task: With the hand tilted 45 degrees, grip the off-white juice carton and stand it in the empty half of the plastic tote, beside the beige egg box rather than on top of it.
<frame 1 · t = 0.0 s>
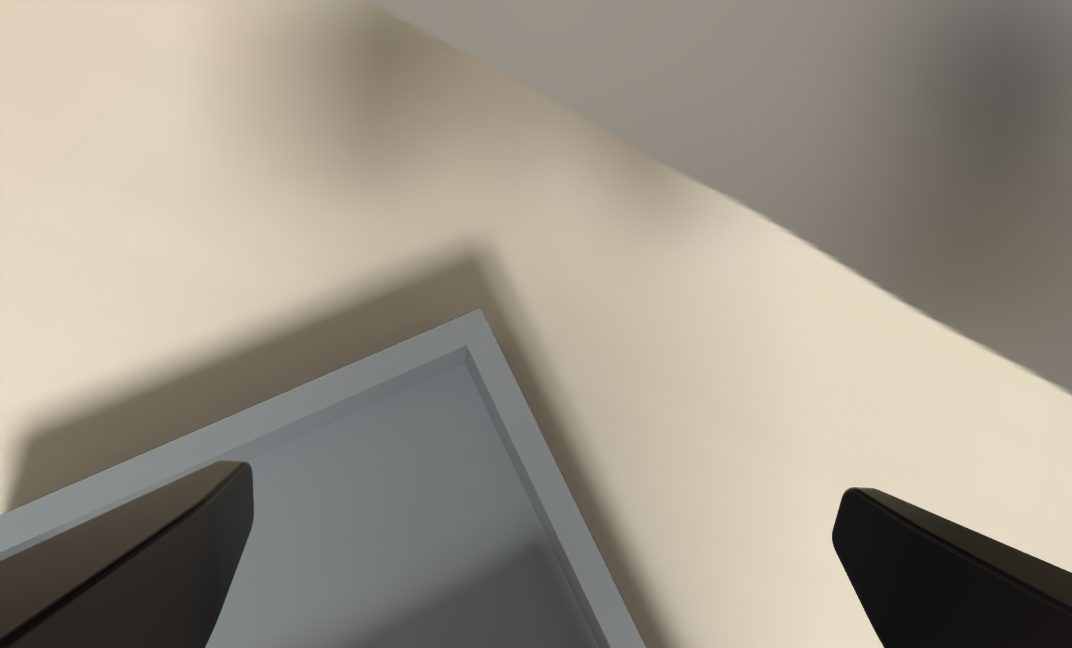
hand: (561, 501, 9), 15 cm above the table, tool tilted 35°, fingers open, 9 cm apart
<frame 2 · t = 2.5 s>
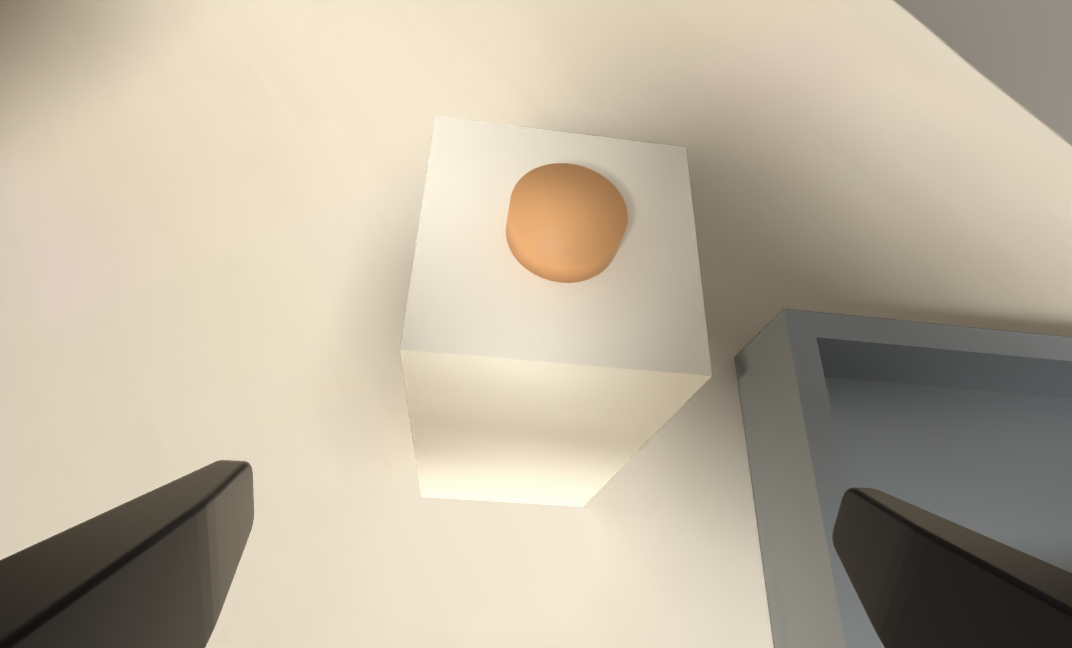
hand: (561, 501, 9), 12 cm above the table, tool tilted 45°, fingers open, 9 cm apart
juice carton: (507, 424, 22), on the table
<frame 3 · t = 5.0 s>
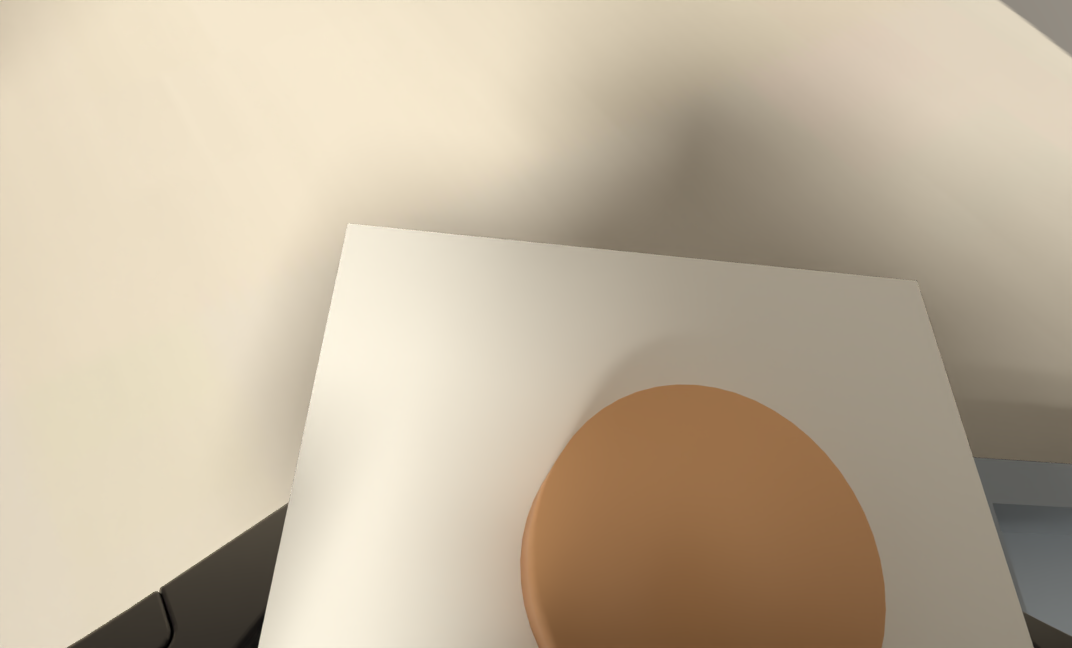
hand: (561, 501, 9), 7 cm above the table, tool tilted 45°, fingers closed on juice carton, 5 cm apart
juice carton: (511, 620, 14), on the table, touching gripper
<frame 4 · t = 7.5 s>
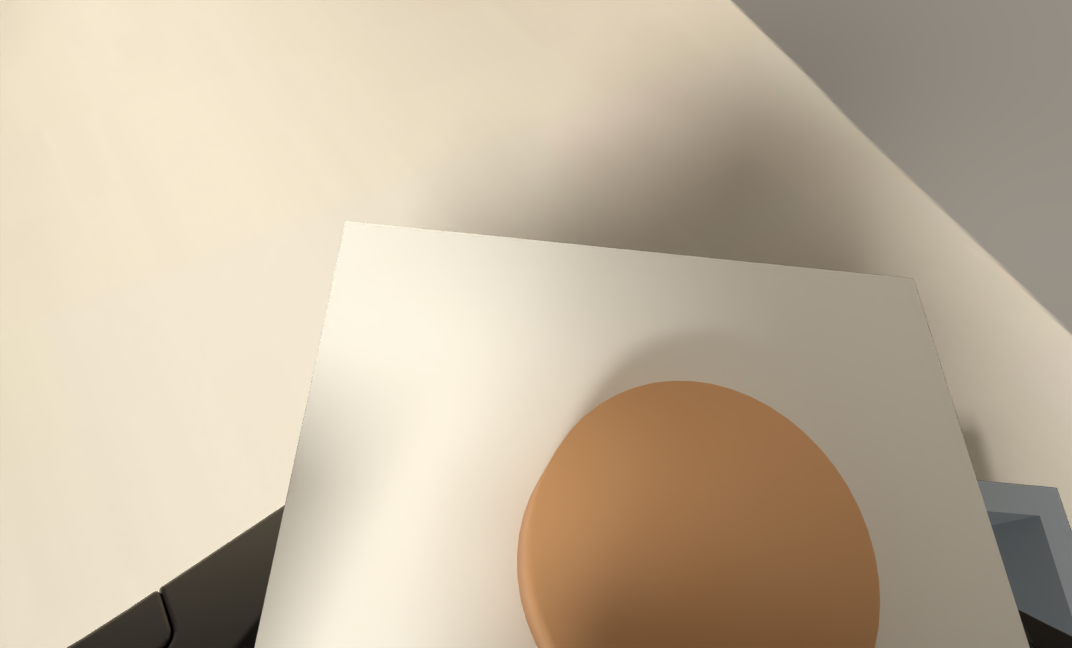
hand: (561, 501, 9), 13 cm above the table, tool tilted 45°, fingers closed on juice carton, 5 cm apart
juice carton: (510, 619, 15), point 6 cm above the table, touching gripper
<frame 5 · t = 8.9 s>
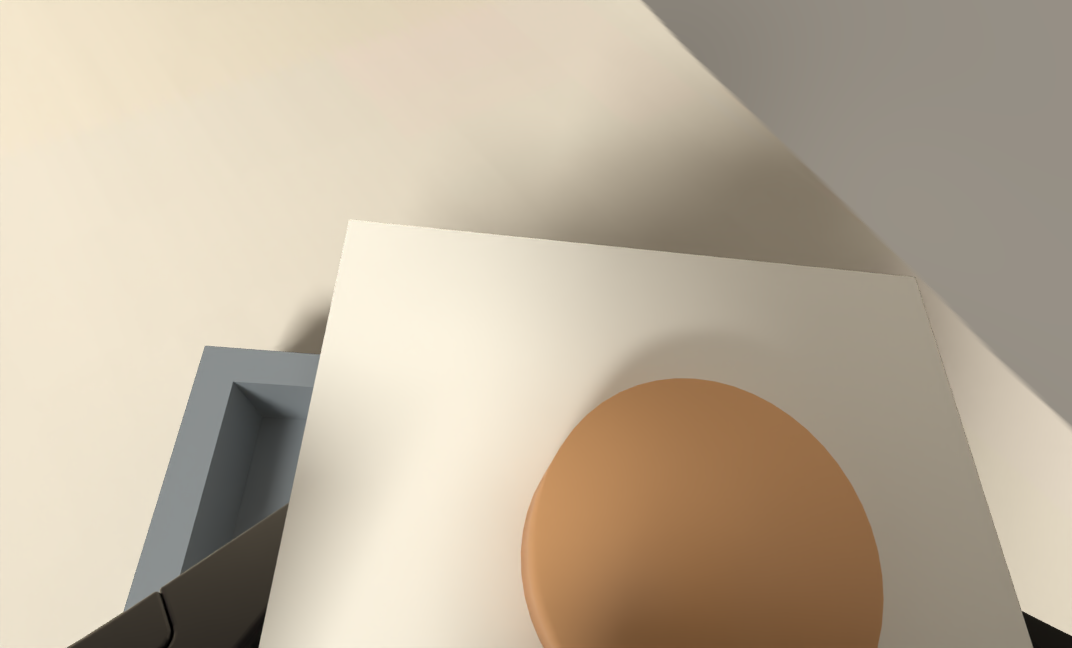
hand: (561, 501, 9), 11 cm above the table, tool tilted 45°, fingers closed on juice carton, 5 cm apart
juice carton: (511, 619, 15), point 4 cm above the table, touching gripper
when the fingers open (9 cm above the table, at t = 10.1 s): juice carton drops 1 cm, resting on tote.
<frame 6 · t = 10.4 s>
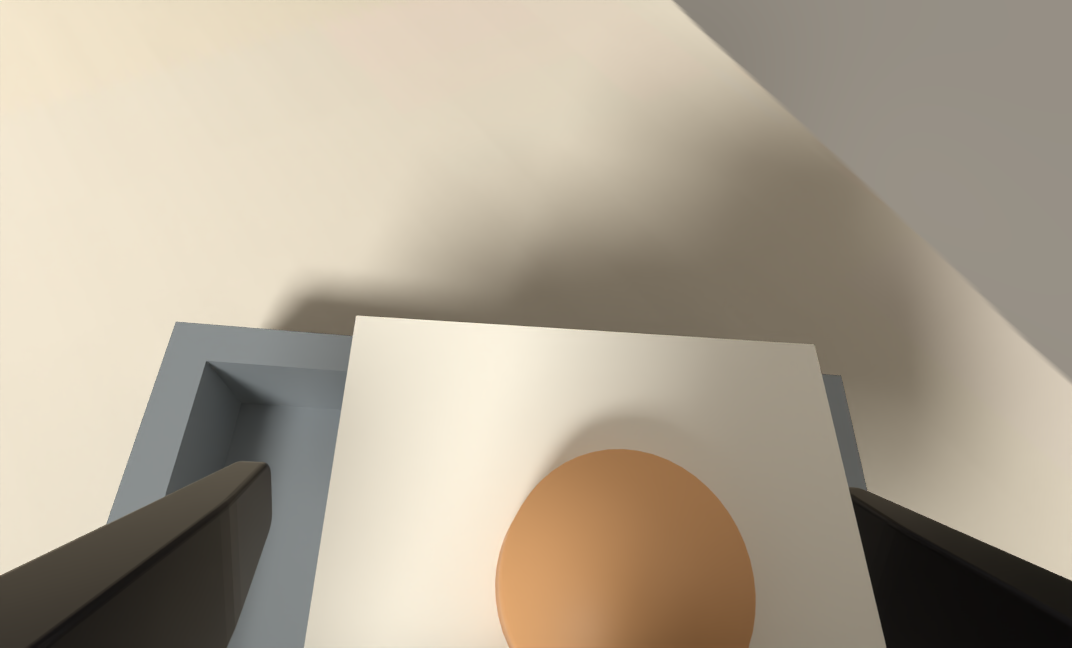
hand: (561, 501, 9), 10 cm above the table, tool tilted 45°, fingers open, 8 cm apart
juice carton: (503, 621, 16), point 1 cm above the table, touching tote
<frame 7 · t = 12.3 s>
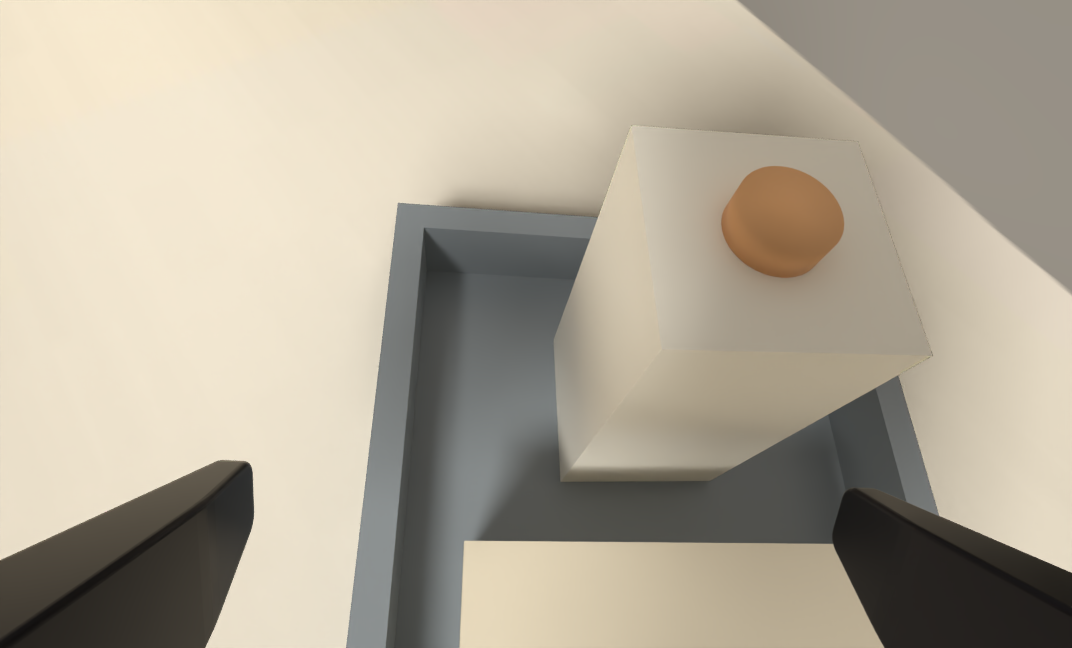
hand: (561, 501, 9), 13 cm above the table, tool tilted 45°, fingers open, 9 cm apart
juice carton: (628, 407, 23), point 1 cm above the table, touching tote
tote: (632, 536, 22), on the table
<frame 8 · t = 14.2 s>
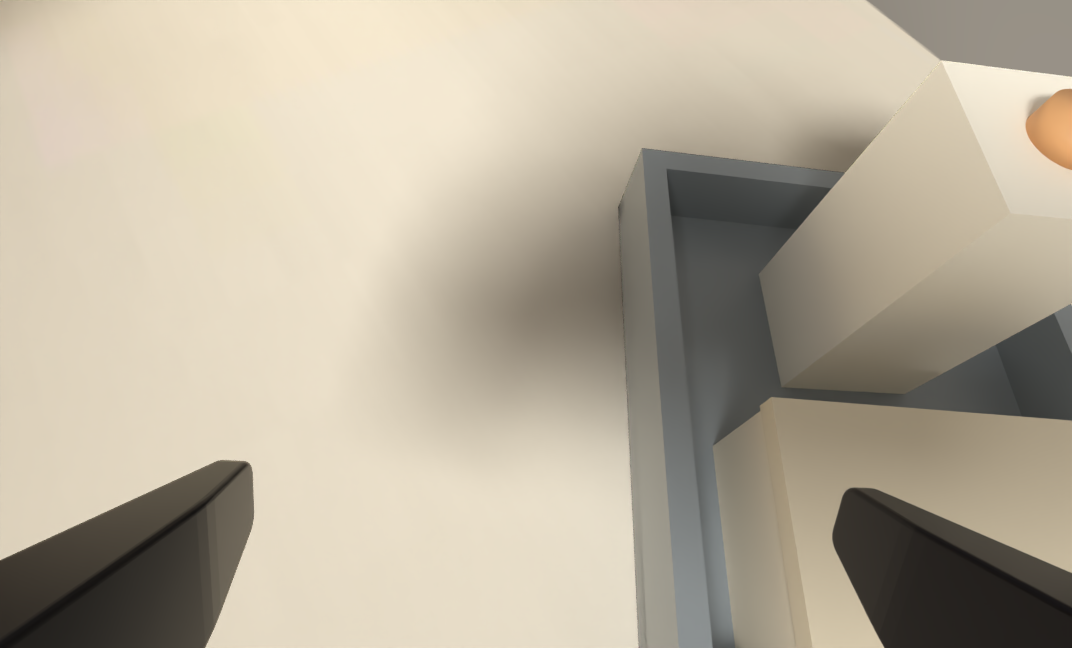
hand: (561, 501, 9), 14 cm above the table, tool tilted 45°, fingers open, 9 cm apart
juice carton: (828, 331, 27), point 1 cm above the table, touching tote
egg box: (882, 564, 22), point 1 cm above the table, touching tote
tote: (838, 439, 25), on the table
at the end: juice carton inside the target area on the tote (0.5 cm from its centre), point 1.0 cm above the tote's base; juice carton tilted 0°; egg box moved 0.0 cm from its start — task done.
